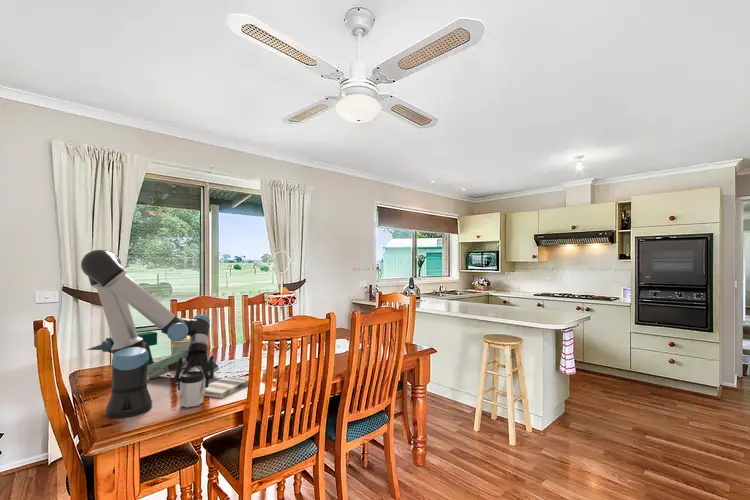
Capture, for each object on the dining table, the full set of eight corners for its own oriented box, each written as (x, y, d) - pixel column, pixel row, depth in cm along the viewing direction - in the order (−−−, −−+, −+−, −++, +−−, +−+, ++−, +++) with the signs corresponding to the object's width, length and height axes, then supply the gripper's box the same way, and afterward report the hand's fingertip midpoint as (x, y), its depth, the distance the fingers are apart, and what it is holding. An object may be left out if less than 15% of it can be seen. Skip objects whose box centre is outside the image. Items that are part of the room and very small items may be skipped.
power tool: (88, 386, 173) (89, 343, 174) (81, 384, 177) (82, 342, 177) (158, 369, 200) (158, 332, 201) (151, 367, 204) (151, 331, 204)
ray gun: (215, 374, 183) (200, 336, 183) (155, 399, 183) (140, 361, 183) (221, 370, 190) (207, 333, 190) (163, 394, 190) (149, 357, 190)
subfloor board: (220, 398, 159) (220, 393, 159) (195, 394, 163) (195, 389, 163) (250, 383, 178) (250, 379, 178) (227, 380, 182) (227, 376, 182)
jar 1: (172, 363, 212) (173, 332, 212) (197, 361, 216) (198, 330, 217) (168, 369, 200) (169, 336, 200) (195, 367, 204) (195, 335, 204)
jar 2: (207, 402, 153) (208, 372, 154) (189, 409, 146) (190, 378, 146) (193, 398, 157) (194, 369, 158) (175, 404, 150) (176, 374, 150)
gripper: (223, 349, 171) (219, 397, 155) (173, 352, 164) (164, 403, 148) (222, 340, 166) (219, 388, 150) (171, 343, 159) (162, 394, 143)
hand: (192, 395), depth 149 cm, fingers closed on jar 2, 7 cm apart
